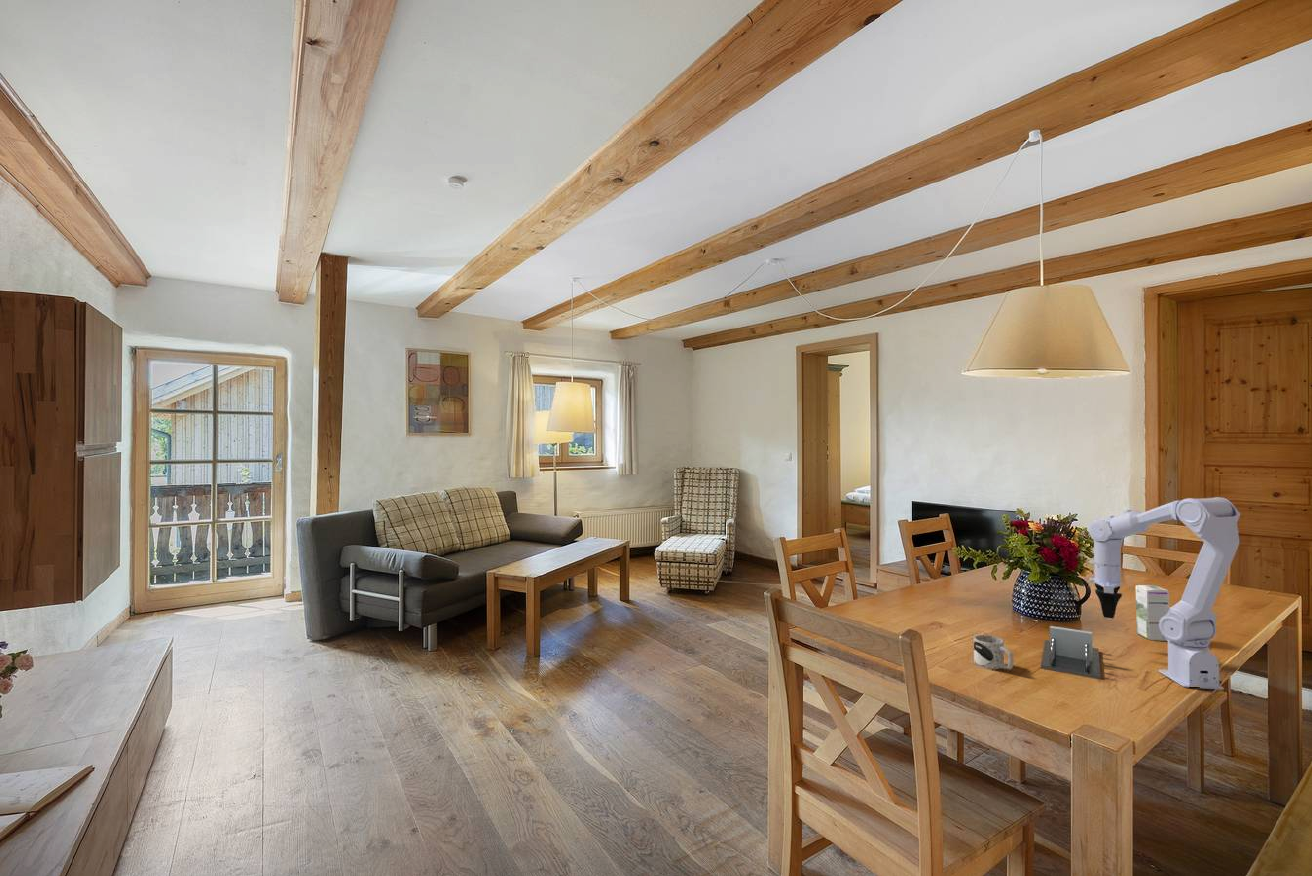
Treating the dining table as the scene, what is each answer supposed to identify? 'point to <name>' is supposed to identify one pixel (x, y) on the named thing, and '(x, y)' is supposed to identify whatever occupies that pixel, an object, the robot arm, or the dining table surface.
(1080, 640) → the plate
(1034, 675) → the dining table surface
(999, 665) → the mug
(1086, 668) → the rack
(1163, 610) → the syrup box
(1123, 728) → the dining table surface
